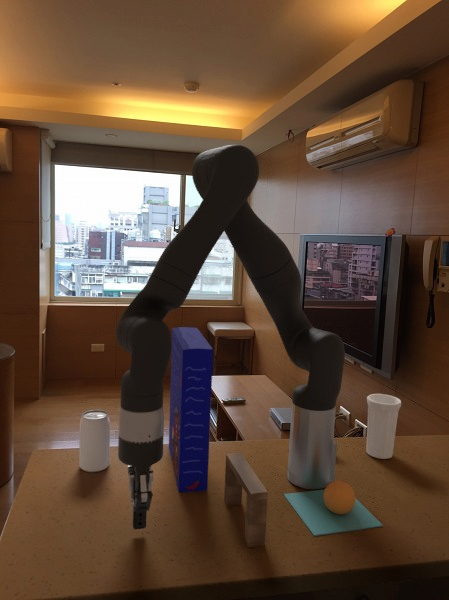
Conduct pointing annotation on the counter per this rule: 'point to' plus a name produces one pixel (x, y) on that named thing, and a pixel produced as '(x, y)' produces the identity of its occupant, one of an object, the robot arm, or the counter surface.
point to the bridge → (257, 497)
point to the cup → (381, 424)
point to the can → (94, 441)
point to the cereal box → (190, 408)
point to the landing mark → (329, 514)
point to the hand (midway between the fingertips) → (139, 526)
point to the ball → (339, 497)
